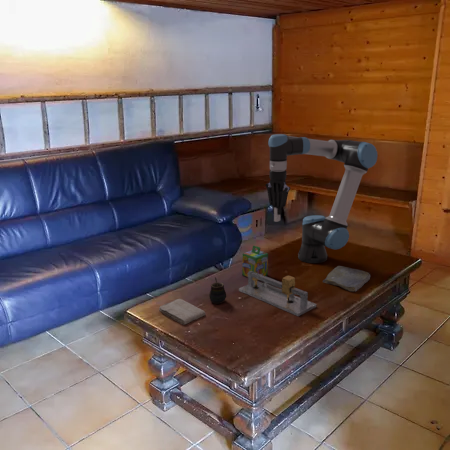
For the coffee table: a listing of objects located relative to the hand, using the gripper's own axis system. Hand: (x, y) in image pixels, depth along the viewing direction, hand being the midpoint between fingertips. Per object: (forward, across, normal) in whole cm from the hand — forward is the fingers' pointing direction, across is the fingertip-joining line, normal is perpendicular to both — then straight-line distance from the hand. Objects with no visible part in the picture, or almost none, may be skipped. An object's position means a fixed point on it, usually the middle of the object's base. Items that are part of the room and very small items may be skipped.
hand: (277, 220), depth 215 cm
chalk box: (+30, -11, -3) cm, 32 cm away
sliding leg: (+28, +20, -15) cm, 37 cm away
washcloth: (+30, -6, -52) cm, 61 cm away
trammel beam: (+29, +13, -15) cm, 35 cm away
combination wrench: (+30, +12, -11) cm, 34 cm away
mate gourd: (+30, -3, -35) cm, 46 cm away
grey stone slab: (+30, +24, +22) cm, 44 cm away
